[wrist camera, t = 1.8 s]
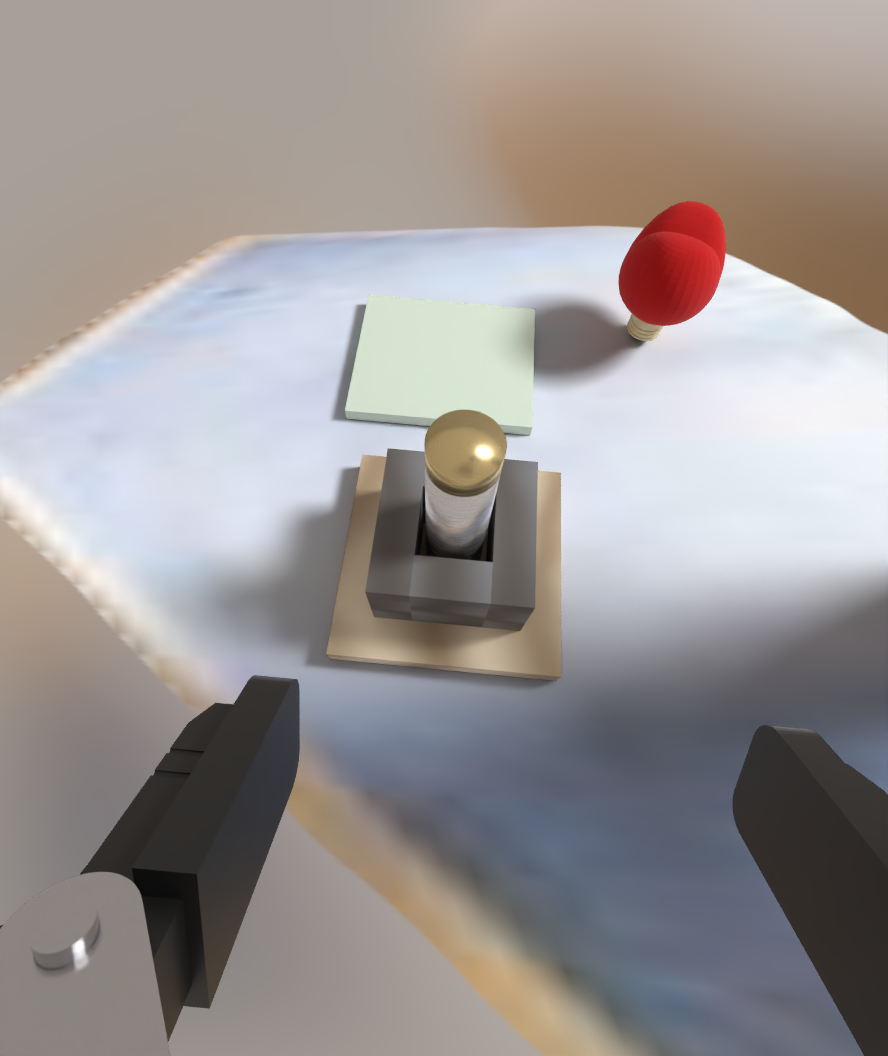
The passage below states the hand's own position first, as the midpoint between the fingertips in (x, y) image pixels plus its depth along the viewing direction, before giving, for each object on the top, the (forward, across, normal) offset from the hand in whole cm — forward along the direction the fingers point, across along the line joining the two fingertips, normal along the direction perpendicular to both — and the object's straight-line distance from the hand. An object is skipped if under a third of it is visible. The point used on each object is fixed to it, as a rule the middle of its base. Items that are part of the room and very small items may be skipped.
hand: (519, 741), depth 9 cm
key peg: (+24, +1, +7) cm, 25 cm away
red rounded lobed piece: (+41, -13, -8) cm, 44 cm away
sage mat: (+37, +3, -4) cm, 38 cm away
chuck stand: (+25, +1, +8) cm, 27 cm away
